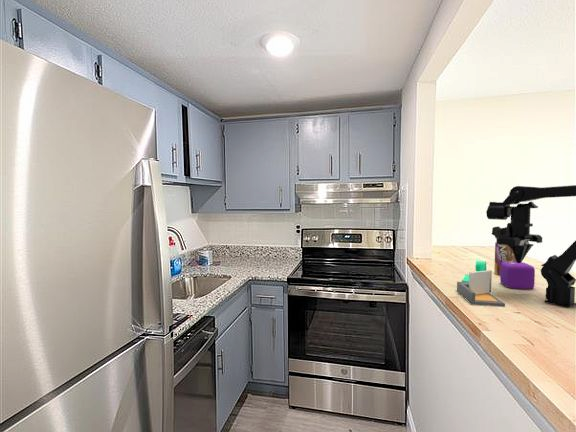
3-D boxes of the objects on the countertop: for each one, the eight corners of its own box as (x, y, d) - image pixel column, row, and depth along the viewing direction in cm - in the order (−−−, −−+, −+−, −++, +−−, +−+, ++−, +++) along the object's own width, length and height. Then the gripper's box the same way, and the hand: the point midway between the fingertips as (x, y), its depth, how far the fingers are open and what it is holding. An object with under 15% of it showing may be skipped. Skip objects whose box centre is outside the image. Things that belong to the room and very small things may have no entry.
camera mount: (465, 280, 137) (466, 257, 136) (486, 283, 132) (487, 259, 132) (461, 286, 127) (462, 261, 127) (483, 289, 123) (484, 264, 122)
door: (491, 292, 113) (492, 270, 113) (471, 295, 110) (471, 273, 110) (488, 291, 114) (489, 270, 114) (468, 294, 111) (468, 272, 111)
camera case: (483, 291, 119) (484, 281, 119) (505, 306, 103) (505, 294, 103) (455, 290, 121) (455, 280, 121) (471, 304, 105) (472, 292, 105)
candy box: (518, 277, 140) (519, 244, 139) (510, 278, 139) (512, 244, 138) (501, 273, 149) (502, 241, 148) (493, 274, 148) (494, 242, 147)
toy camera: (517, 281, 134) (518, 258, 134) (540, 290, 121) (541, 265, 120) (491, 281, 135) (491, 258, 135) (510, 290, 122) (511, 264, 121)
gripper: (511, 218, 125) (509, 257, 126) (482, 220, 117) (481, 261, 118) (543, 220, 115) (542, 262, 116) (514, 222, 107) (513, 267, 108)
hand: (518, 262), depth 114 cm, fingers closed
